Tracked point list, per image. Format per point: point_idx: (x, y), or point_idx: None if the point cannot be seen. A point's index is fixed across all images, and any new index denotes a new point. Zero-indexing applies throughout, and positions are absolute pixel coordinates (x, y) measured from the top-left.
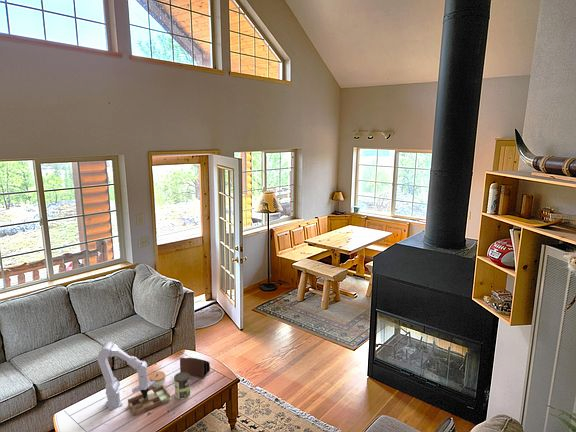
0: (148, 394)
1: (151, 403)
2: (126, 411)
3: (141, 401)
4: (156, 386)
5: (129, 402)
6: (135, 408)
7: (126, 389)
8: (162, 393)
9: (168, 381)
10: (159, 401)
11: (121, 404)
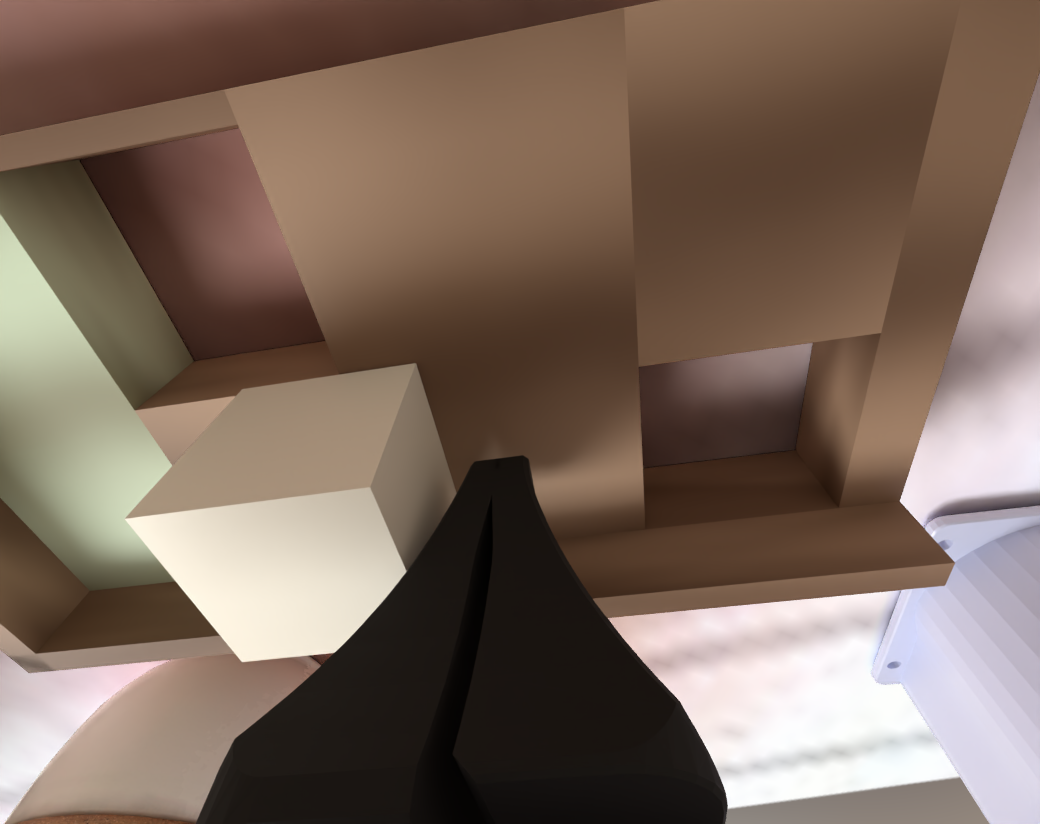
0: (355, 521)
1: (326, 169)
2: (985, 299)
3: (609, 413)
4: (245, 677)
5: (872, 503)
6: (891, 172)
7: None
8: (43, 464)
9: (99, 686)
10: (24, 132)
11: (948, 534)
